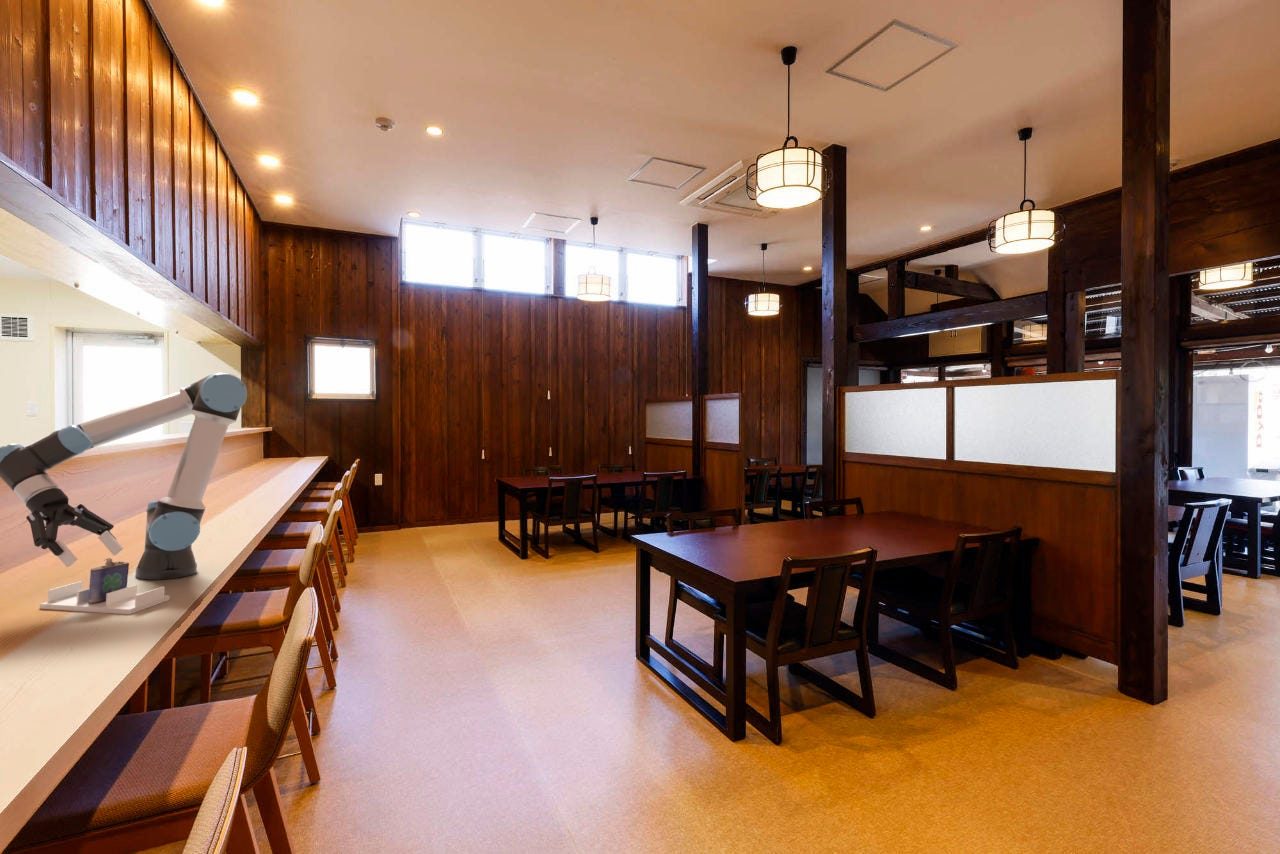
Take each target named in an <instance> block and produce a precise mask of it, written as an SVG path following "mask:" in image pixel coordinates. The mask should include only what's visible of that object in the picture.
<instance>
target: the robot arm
mask: <svg viewBox="0 0 1280 854" xmlns="http://www.w3.org/2000/svg"><path fill="white" fill-rule="evenodd" d="M247 397H248V390H247V386H246V384H245V383H244V381H242V379H240V378H239V377H237V376H236V375H234V374H231V373H228V372H227V373H226V372H215V373H213V374H210V375H206V376H205V377H202V378H201V379H199V380H198V381H195V382H194V383H191V384H188V385H185V386H182V387H180V389H179V391H178V392H174V393H171V394H169V395H164V396H162V397H158V398H156V399H153V400H150V401H147V402H144V403H141V404H137V405H134V406H130V407H128V408H125V409H122V410H118V411H115V412H113V413H110V414H106V415H103V416H100V417H98V418H94V419H91V420H88V421H85V422H81V423H78V424H70V425H68V426H66V427H63V428H61V429H59V430H55V431H53V432H51V433H50V434H49V435H47V436H45V437H44V438H41V439H40V440H38V441H35V442H34V443H32V444H30V445H26V446H23V445H22V444H19V443H11V444H8V445H5V446H4V445H3V446H1V447H0V478H1V480H2V481H3V482H4V483H5V484H6V485H7V486H8V487H9V488H10V489H11V490H12V491H13V492H14V493H15V495H17V497H18V498H19V499H20V500H21V502H22V503H23V504H25V506H26V508H27V509H28V510H29V511H30V512H31V513H29V514H28V515H27V516H26V520H27V521H28V522H29V525H30V528H31V533H32V539H33V544H34V546H35V547H37V548H38V547H40V548H41V549H42V550H47V549H49V550H50V552H51V553H52V554H53V555H54V556H56V557H57V558H58V559H59V560H60V561H61V562H62V563H63V565H64V566H65V567H66V568H68V567H71V566H72V565H73V564H75V562H76V561H78V560H79V559H78V558H77V556H76V555H75V554H74V553H73V552H72V550H71V549H69V548H68V546H67V545H66V544H65V543H64V542H63V541H62V540H61V539H58V540H57V537H58V530H59V527H61V526H68V525H70V526H72V527H74V526H76V527H79V528H80V529H84V530H85V531H88V532H91V533H93V534H95V535H97V536H98V537H97V539H98V540H99V541H100V542H101V543H102V544H103V545H104V546H105V547H106V549H108V551H109V552H110V553H111V554H112V556H117V555H118V554H119V553H121V551H123V550H124V547H123V546H122V545H121V544H120V543H119V541H118V540H117V538H116V537H115V536H114V535H113V533H112V532H111V531H112V530H113V528H114V527H115V525H113V524H112V523H110V522H108V521H107V520H106V519H104V518H102V517H100V516H99V515H97V514H96V513H94V512H92V511H90V510H89V509H88V508H87V507H86V506H85V505H83V504H82V503H79V504H78V505H77V506H74V507H73V506H71V505H70V504H69V497H68V495H67V494H66V493H65V492H64V491H63V490H62V489H61V488H59V485H58V484H57V483H56V482H55V480H53V479H52V477H51V476H50V475H49V474H48V473H47V472H46V471H48V470H50V469H52V468H54V467H55V466H58V465H61V464H62V463H64V462H66V461H68V460H70V459H72V458H74V457H75V456H78V455H79V454H82V453H84V452H86V451H88V450H91V449H93V448H96V447H99V446H102V445H105V444H108V443H110V442H113V441H117V440H120V439H122V438H125V437H128V436H131V435H133V434H137V433H140V432H142V431H146V430H149V429H152V428H155V427H157V426H160V425H164V424H166V423H168V422H172V421H175V420H179V419H180V418H181V419H182V418H184V417H186V416H190V415H193V416H194V420H193V423H192V426H191V429H190V431H189V434H188V437H187V440H186V442H185V445H184V448H183V449H182V450H183V451H182V453H181V455H180V459H179V462H178V464H177V467H176V470H175V472H174V475H173V478H172V481H171V484H170V487H169V489H168V492H167V494H166V495H165V496H163V497H160V498H159V499H158V500H156V501H155V500H152V501H150V502H149V503H148V505H147V508H146V510H145V511H146V524H145V538H144V541H145V542H144V551H143V553H142V555H141V557H140V560H139V562H138V564H137V566H136V568H135V577H136V578H137V579H141V580H170V579H176V578H184V577H188V576H191V575H194V574H195V573H197V571H198V569H197V568H198V564H197V562H196V557H195V556H194V552H193V549H192V544H194V543H195V541H196V540H197V539H198V537H199V535H200V533H201V522H202V520H203V519H202V518H203V516H204V513H205V510H206V505H204V503H203V499H204V495H205V493H206V490H207V487H208V484H209V481H210V478H211V475H212V474H213V469H214V466H215V464H216V462H217V459H218V456H219V453H220V450H221V447H222V444H223V442H224V438H225V435H226V434H227V431H228V428H229V426H230V425H231V424H234V423H236V422H237V419H238V416H239V413H240V411H241V408H242V407H243V406H244V404H245V403H246V401H247V400H248V399H247Z"/></svg>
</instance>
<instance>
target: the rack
mask: <svg viewBox="0 0 1280 854" xmlns="http://www.w3.org/2000/svg"><path fill="white" fill-rule="evenodd" d="M165 587H166V586H164V585H163V586H160V587H157V588H154V589H151V590H148V591H145V592H142V593H138V584H133V585H130V586H129V585H128V586H127V587H126V588H123V589H120V590H116V591H113V592H110V593H107V594H106V601H105V602H102V603H95V604H89V603H88V599H89V588H85V589H83V580H80V581H76V582H72V583H69V584H66V585H65V584H64V585H61V586H58V587H53V588H50V589H48V591H47V601H45V602H42V603H39V609H40V610H42V609H43V610H54V611H56V610H57V611H68V612H69V611H73V612H83V613H84V612H86V613H87V612H89V613H99V614H100V613H103V614H117V615H119V614H120V615H132V614H134V613H137V612H140V611H142V610H145V609H148V608H151V607H154V606H157V605H159V604H161V603H164V602H165V603H166V602H167V601H170V596H171V595H168V594H167V595H166V594H165Z"/></svg>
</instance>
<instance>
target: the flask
mask: <svg viewBox="0 0 1280 854" xmlns="http://www.w3.org/2000/svg"><path fill="white" fill-rule="evenodd" d="M104 561H106V562H105V563H104V565H101V566H98V567H94V568H93V567H92V568H91V569H90V574H89V587H88V589H89V599H88V603H89V604H95V603H102V602H105V601H106V594H107V593H110V592H113V591H116V590H120V589H123V588H126V587H128V577H129V567H130V563H129V562H126V561H115V562H114V561H113V558H110V557H109V558H108V557H107V558H105V559H104Z"/></svg>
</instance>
